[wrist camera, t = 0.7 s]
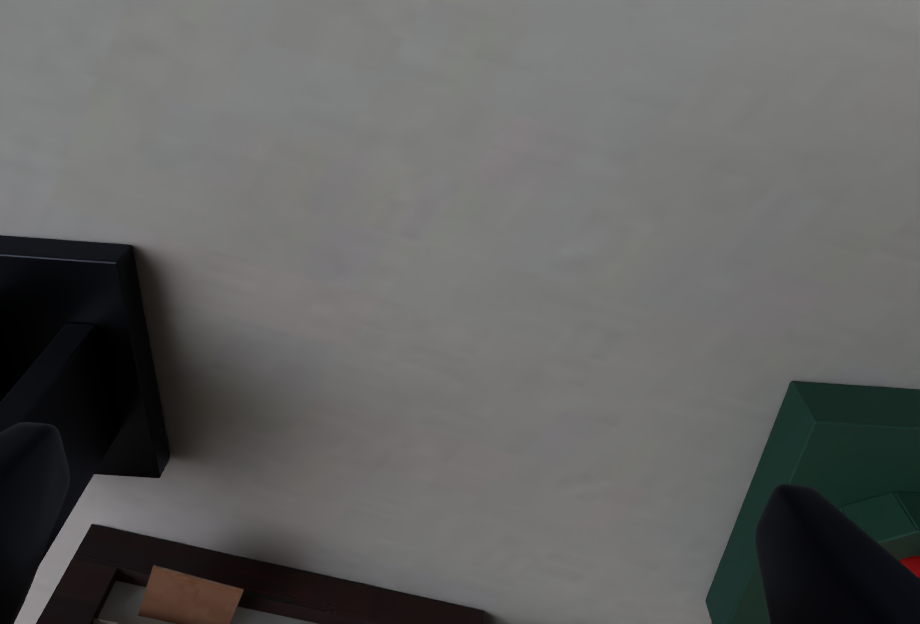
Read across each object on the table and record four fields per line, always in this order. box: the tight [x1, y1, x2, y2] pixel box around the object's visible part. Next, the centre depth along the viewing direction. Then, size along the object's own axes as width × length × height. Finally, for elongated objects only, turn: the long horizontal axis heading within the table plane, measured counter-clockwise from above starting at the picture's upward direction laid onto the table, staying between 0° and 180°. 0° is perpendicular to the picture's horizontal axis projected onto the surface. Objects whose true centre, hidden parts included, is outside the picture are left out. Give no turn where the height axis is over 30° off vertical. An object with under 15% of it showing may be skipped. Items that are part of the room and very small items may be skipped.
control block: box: [706, 381, 920, 624], centre depth 27 cm, size 12×9×4 cm
